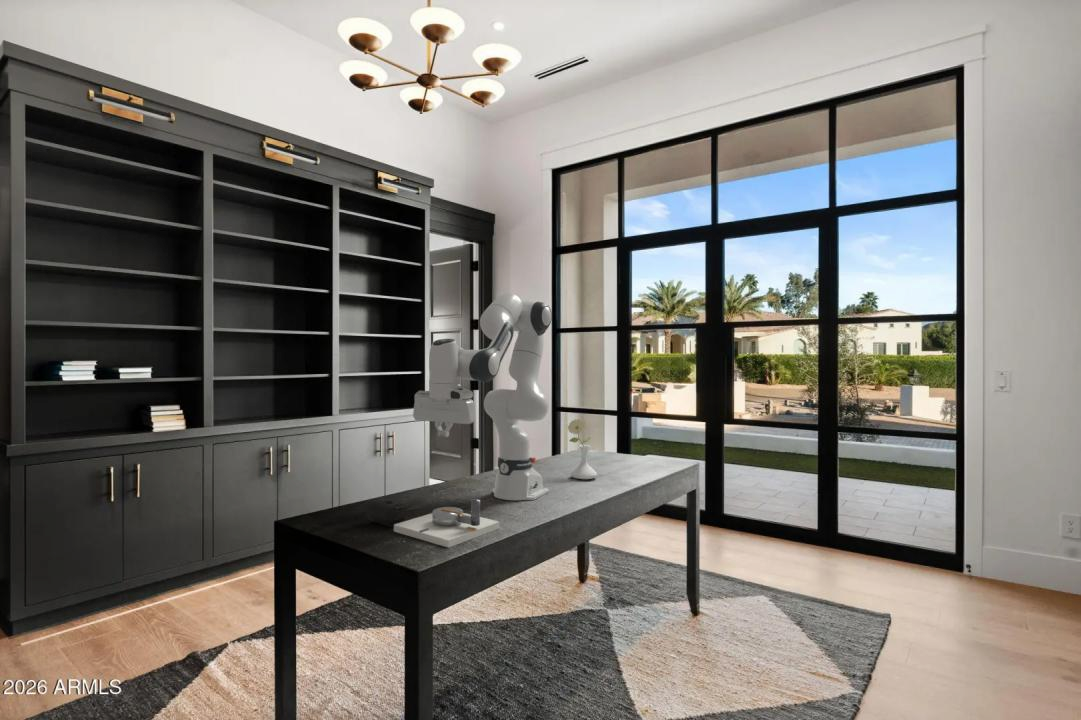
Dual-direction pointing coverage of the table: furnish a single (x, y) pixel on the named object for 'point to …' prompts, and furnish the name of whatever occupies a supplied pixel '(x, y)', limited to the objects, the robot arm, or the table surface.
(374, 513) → the end cap
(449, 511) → the silver metal piece
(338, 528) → the table surface
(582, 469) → the flower in vase
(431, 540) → the panel
